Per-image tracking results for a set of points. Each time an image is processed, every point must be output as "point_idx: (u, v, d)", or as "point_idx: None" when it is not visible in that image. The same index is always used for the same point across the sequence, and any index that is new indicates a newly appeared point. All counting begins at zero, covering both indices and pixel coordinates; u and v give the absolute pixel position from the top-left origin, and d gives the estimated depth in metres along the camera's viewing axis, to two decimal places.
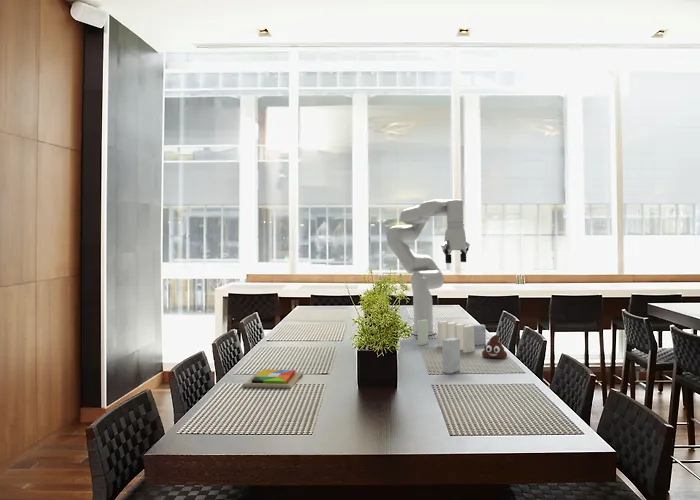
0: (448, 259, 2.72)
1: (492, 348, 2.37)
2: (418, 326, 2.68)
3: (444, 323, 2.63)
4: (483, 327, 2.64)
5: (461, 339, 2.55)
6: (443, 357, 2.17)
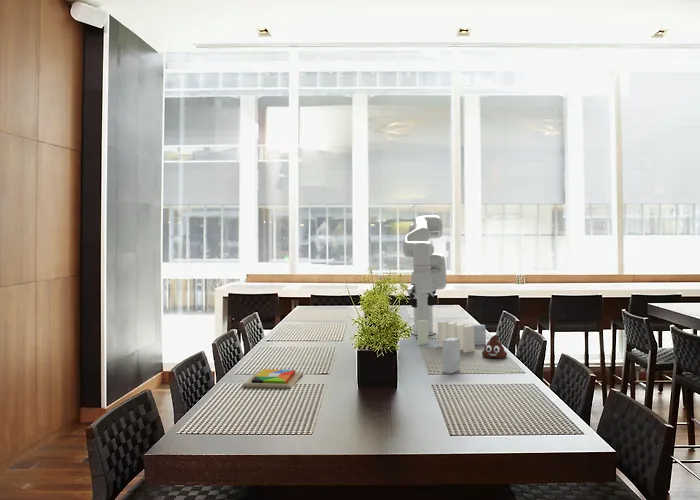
0: (414, 303, 2.65)
1: (492, 348, 2.37)
2: (418, 326, 2.68)
3: (444, 323, 2.63)
4: (483, 327, 2.64)
5: (461, 339, 2.55)
6: (443, 357, 2.17)
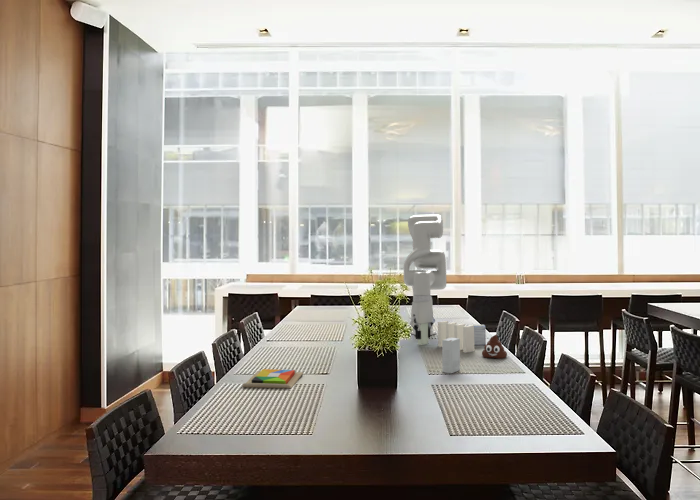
0: (418, 335, 2.67)
1: (492, 348, 2.37)
2: None
3: (444, 323, 2.63)
4: (483, 327, 2.64)
5: (461, 339, 2.55)
6: (443, 357, 2.17)
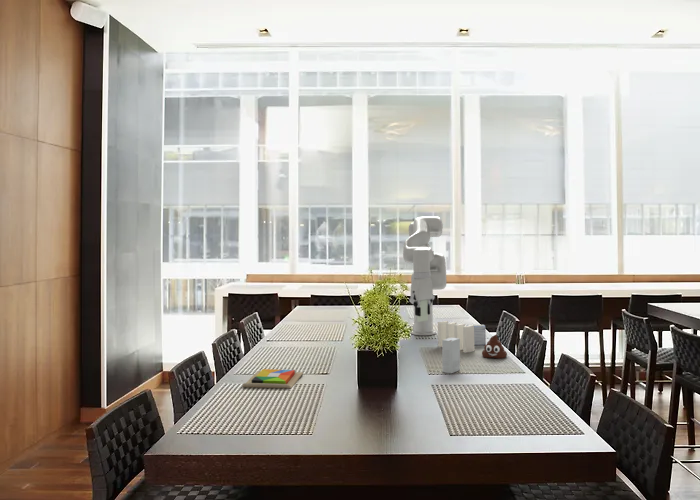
0: (417, 312, 2.67)
1: (492, 348, 2.37)
2: None
3: (444, 323, 2.63)
4: (483, 327, 2.64)
5: (461, 339, 2.55)
6: (443, 357, 2.17)
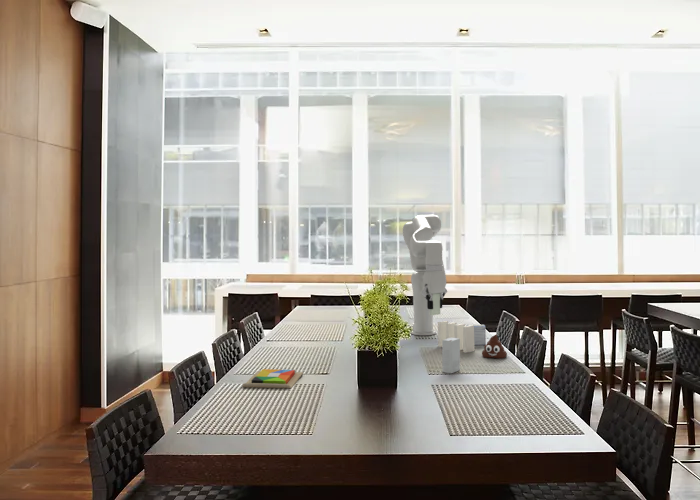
0: (430, 305, 2.65)
1: (492, 348, 2.37)
2: None
3: (444, 323, 2.63)
4: (483, 327, 2.64)
5: (461, 339, 2.55)
6: (443, 357, 2.17)
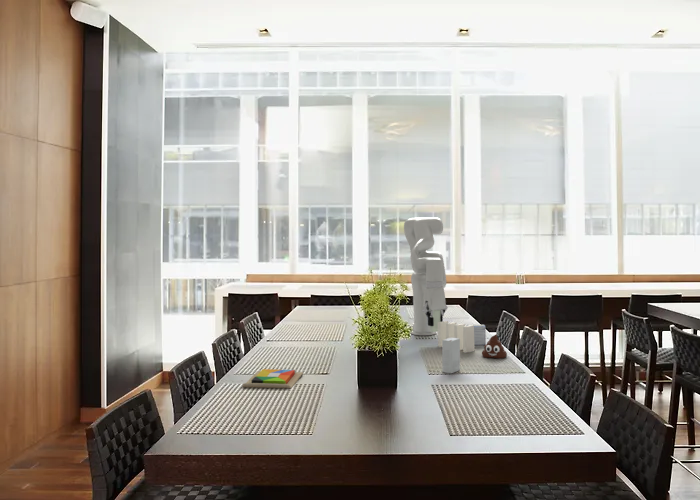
0: (430, 322, 2.65)
1: (492, 348, 2.37)
2: None
3: (444, 323, 2.63)
4: (483, 327, 2.64)
5: (461, 339, 2.55)
6: (443, 357, 2.17)
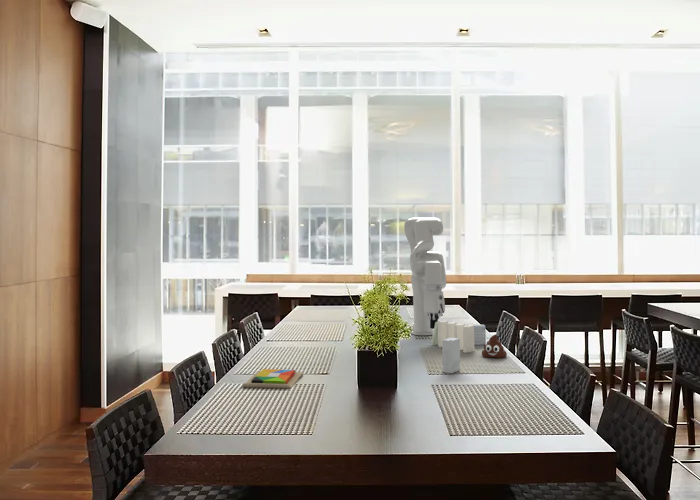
0: None
1: (492, 347, 2.38)
2: (435, 327, 2.65)
3: (444, 323, 2.63)
4: (483, 327, 2.64)
5: (461, 339, 2.55)
6: (443, 357, 2.17)
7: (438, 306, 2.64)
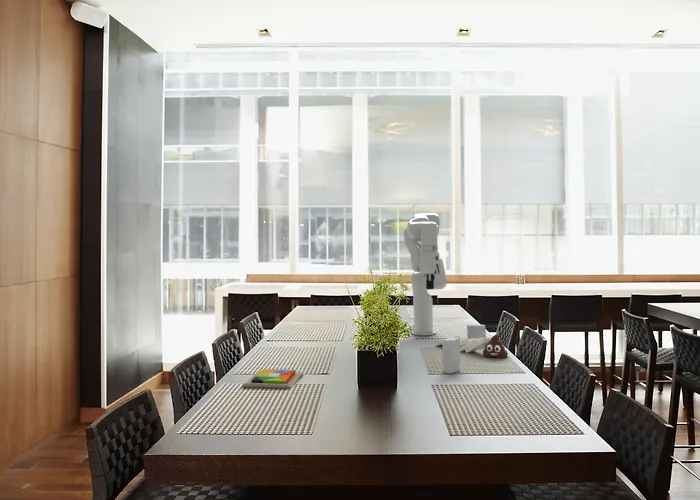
0: None
1: (493, 347, 2.38)
2: None
3: None
4: (483, 327, 2.64)
5: None
6: (443, 357, 2.17)
7: (434, 266, 2.65)
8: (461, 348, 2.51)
